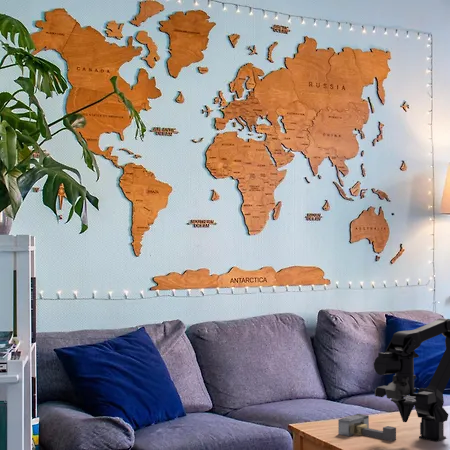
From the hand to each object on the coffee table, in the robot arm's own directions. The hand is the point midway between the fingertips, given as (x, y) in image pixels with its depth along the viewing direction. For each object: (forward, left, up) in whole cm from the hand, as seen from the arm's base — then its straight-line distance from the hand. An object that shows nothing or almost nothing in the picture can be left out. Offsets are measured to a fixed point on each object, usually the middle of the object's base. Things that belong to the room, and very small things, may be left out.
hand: (404, 422), depth 230 cm
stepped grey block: (+10, 0, -6) cm, 11 cm away
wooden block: (+17, 0, -7) cm, 18 cm away
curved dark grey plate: (+19, 0, -6) cm, 20 cm away
